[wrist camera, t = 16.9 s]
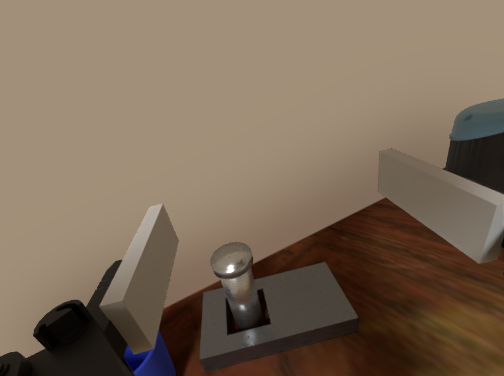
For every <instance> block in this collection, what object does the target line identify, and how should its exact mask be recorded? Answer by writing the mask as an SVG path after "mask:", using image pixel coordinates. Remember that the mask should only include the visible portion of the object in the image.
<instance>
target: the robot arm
mask: <svg viewBox="0 0 504 376" xmlns="http://www.w3.org/2000/svg"><path fill="white" fill-rule="evenodd" d="M450 139H451V141H450V147H449V152H448V157H447V162H446V168H445V170H443V169H441V168H438V167H435V166H433V165H431V164H428V163H426V162H423V161H421V160H419V159H416V158H414V157H412V156H409V155H407V154H404V153H402V152H399V151H397V150H395V149H392V148H391V149H387V150H383V151H380V153H379V177H378V192H379V193H381V194H382V195H383V196H385V197H386V198H388V199H389V200H390V201H392V202H393V203H395V204H396V205H397V206H399V207H400V208H402V209H403V210H404V211H406V212H407V213H409V214H410V215H411V216H413V217H414V218H416V219H417V220H418V221H420V222H421V223H423V224H424V225H425V226H427V227H428V228H430V229H431V230H432V231H434V232H435V233H437V234H438V235H439V236H441V237H442V238H444V239H445V240H446V241H448V242H449V243H451V244H452V245H453V246H455V247H456V248H458V249H459V250H460V251H462V252H463V253H465V254H466V255H467V256H469V257H470V258H472V259H473V260H474V261H476V262H477V263H479V264H481V263H485V262H488V261H492V260H496V259H497V258H498V255H499V253H500V250H501V247H503V248H504V99H499V100H493V101H488V102H484V103H480V104H477V105H474V106H471V107H468V108H466V109H464V110H463V111H461V112H460V113H459V114H458V115H457V117H456V118H455V121H454V125H453V129H452V133H451V134H450ZM178 242H179V241H178V238H177V235H176V233H175V231H174V229H173V226H172V224H171V221H170V219H169V217H168V214H167V212H166V210H165V207H164V205H163V204H159V205H154V206H150V207H149V210H148V211H147V213H146V215H145V217H144V219H143V221H142V223H141V225H140V227H139V229H138V231H137V233H136V235H135V237H134V239H133V241H132V243H131V245H130V247H129V249H128V251H127V252H126V254H125V256H124V258H123V260H119V261H115V263H114V264H113V265H112V266H111V267H110V268H109V269H108V270H107V271H106V273H105V275H104V276H103V278H102V281H101V282H100V283H99V285H98V287H97V290H95V292H94V294H93V296H92V297H91V299H90V301H89V303H88V305H87V306H86V307H85V306H84V305H83V303H82V302H81V301H79V300H71V301H68V302H64V303H62V304H61V305H59V306H57V307H55V308H54V309H52V310H51V311H50V312H49V313H47V314H46V315H45V316H44V317H43V318H42V319H41V320H40V321H39V323H38V324H37V326H36V328H35V329H34V334H33V336H34V337H35V338H36V339H37V340H38V341H39V342H40V343H41V344H42V345H43V346H44V347H45V348H46V349H44V350H42V351H40V352H38V353H36V354H34V355H32V356H30V357H28V358H25V357H23V355H21V354H20V353H18V352H10V353H7V354H5V355H3V356H1V357H0V376H135V374H134V372H133V371H132V369H131V367H130V365H129V364H128V362H127V361H126V359H125V358H124V354H125V351H126V348H127V346H128V347H129V348H130V350H131V351H132V352H133V354H138V353H142V352H145V351H149V350H153V349H154V347H155V343H156V338H157V334H158V329H159V325H160V321H161V316H162V312H163V308H164V303H165V299H166V294H167V290H168V285H169V281H170V277H171V272H172V268H173V264H174V259H175V255H176V250H177V246H178ZM503 275H504V274H503Z"/></svg>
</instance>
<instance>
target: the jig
mask: <svg viewBox="0 0 504 376" xmlns="http://www.w3.org/2000/svg"><path fill="white" fill-rule="evenodd" d="M254 282H255V286H256V290H257V294H258V298H259V302H263V301H266V304H267V309H268V313H269V317H270V322H271V324H269V325H265V326H261V327H258V328H254V329H250V330H246V331H242V332H238V333H235V334H231V327H230V310H231V308H230V305H229V302H228V299H227V296H226V293H225V290H224V287H223V288H219V289H215V290H211V291H207V292H203V309H202V327H201V345H200V361H201V363H202V365H203V368H204V370H205V372H208V371H212V370H216V369H220V368H223V367H227V366H231V365H235V364H238V363H242V362H246V361H250V360H253V359H257V358H261V357H265V356H268V355H272V354H276V353H280V352H283V351H287V350H291V349H295V348H298V347H302V346H306V345H309V344H313V343H317V342H321V341H324V340H328V339H332V338H336V337H339V336H343V335H347V334H351V333H354V332H358V326H359V318H358V316H357V314H356V313H355V311H354V309H353V308H352V306H351V304H350V303H349V301H348V299H347V298H346V296H345V294H344V293H343V291H342V289H341V288H340V286H339V284H338V283H337V281H336V279H335V278H334V276H333V274H332V273H331V271H330V269H329V268H328V266H327V264H326V263H325V262H323V263H319V264H315V265H311V266H307V267H303V268H299V269H295V270H291V271H287V272H283V273H279V274H275V275H271V276H267V277H263V278H259V279H255V280H254Z"/></svg>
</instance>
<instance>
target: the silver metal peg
mask: <svg viewBox="0 0 504 376" xmlns="http://www.w3.org/2000/svg"><path fill="white" fill-rule="evenodd" d="M210 263H211V266H212V269H213V272H214V274H215V275H216V276H217V277H219V278H221V281H222V284H223V287H224V290H225V293H226V296H227V299H228V302H229V305H230V308H231V311H232V314H233V317H234V320H235V323H236V326H237V329H238V331H239V332H242V331H246V330H250V329H254V328H258V327H261V326H264V318H263V314H262V310H261V306H260V302H259V298H258V294H257V290H256V286H255V282H254V278H253V274H252V271H251V266H252V263H253V257H252V252H251V249H250V248H249V246H247V245H246V244H244V243H240V242H234V243H229V244H226V245H223V246H221V247H220V248H218V249H217V250H216V251H215V252H214V253H213V255H212V257H211V260H210Z"/></svg>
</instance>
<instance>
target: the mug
mask: <svg viewBox="0 0 504 376" xmlns="http://www.w3.org/2000/svg"><path fill="white" fill-rule="evenodd" d="M124 358H125V359H126V361H127V362H128V364H129V365H130V367H131V369H132V371H133V372H134V374H135V376H176V371H175V367H174V365H173V362H172V360H171V357H170V355H169V352H168V350H167V348H166V345H165V343H164V340H163V338H162V336H161V333H160V331H159V329H158V334H157V338H156V343H155V347H154V349H153V350H149V351H145V352H142V353H138V354H133V352H132V351H131V350H130V348H129V347H128V346H127V348H126V351H125V354H124Z"/></svg>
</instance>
